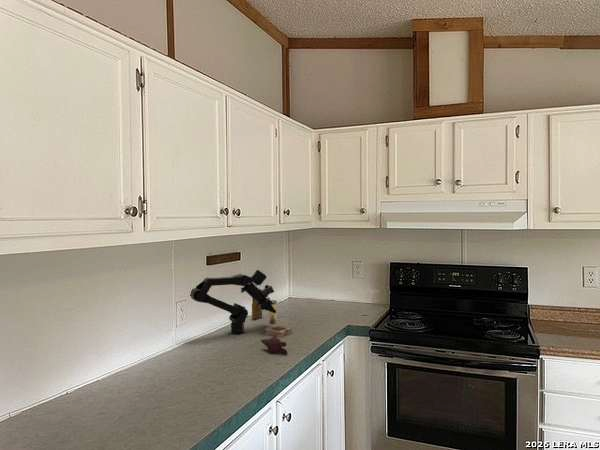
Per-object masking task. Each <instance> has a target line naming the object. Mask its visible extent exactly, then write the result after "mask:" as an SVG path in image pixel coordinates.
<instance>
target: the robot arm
mask: <svg viewBox="0 0 600 450" xmlns="http://www.w3.org/2000/svg"><path fill="white" fill-rule="evenodd" d="M266 279H267V275H266V274H265V273H263V272H262V271H260V270H259V269H256V270H255V272H254V273H253V274H252V275H251V276H248V275H246V274H243V273H238V274H235V275H231V276H223V277H222V276H221V277H205V278H204V279H203V280H202V281H201V282H199V284H197V285H196V286H195V287H196V288H195V287H194V288H192V289H191V290H192V291H191V290H190V291H191V294H190V296H191V298H192V299H191V298H190V299H191V300H194V301H195V302H198V303H202V304H203V303H204V304H209V305H211V306H213V307H217V308H219V309H221V310H223V311H226V312H227V313H230V315H229V317H228V319H229V321H230V322H231V323H230V331H231V332H229V334H230V335H237V336H239V335H242V334H245V333H246V331H245V323H246V319H247V318H248V316H249V312H248V309H246V306H243V305H241V304H238V303H235V302H234V303H233V304H229V303H227V302H225V301H222V300H221V299H217V298H215V297H213V296H211V295H210V294H208V293H209V292H210V289H211V287H214V286H232V285H233V286H234V285H235V286H240V293H241V294H243V293H245V292H246V294H248V295H249V296H250V297H251V298H252V299H254V300H255V301H256V302H258V304H259V305H260V308H261V309H262V311H267V312H269V311H270V312H273V313H276V310H275V309H274V308H273V306H272V305H271V300H272V299H270V297H269V295H271V294H273V293H274V292H275V290H274V288H273V286H272V285H269V284H265V285H264V288H263V289H261V288H259V287H260V286H261V285H262V283H264V281H266ZM258 286H259V287H258ZM190 296H189V297H190Z"/></svg>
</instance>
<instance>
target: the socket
mask: <svg viewBox="0 0 600 450" xmlns="http://www.w3.org/2000/svg"><path fill="white" fill-rule="evenodd" d="M273 326H274V327H271V328H268V329H266V330H264V335H265V336H271V337H276V338H284V337H286V336H287V335H290V334H292V333H293V327H290V326H282V325H276V324H275V325H273Z"/></svg>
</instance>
